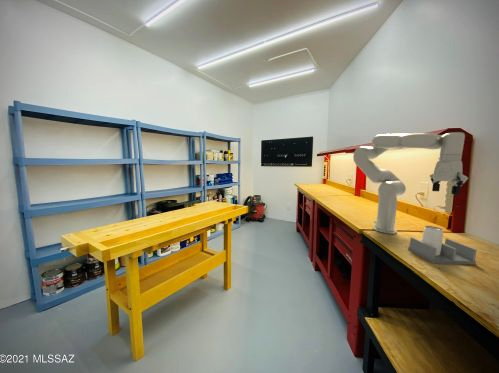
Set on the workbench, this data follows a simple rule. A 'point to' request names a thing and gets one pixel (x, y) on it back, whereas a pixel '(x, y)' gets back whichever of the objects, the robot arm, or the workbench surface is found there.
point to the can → (433, 237)
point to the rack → (444, 252)
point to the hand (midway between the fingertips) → (444, 192)
